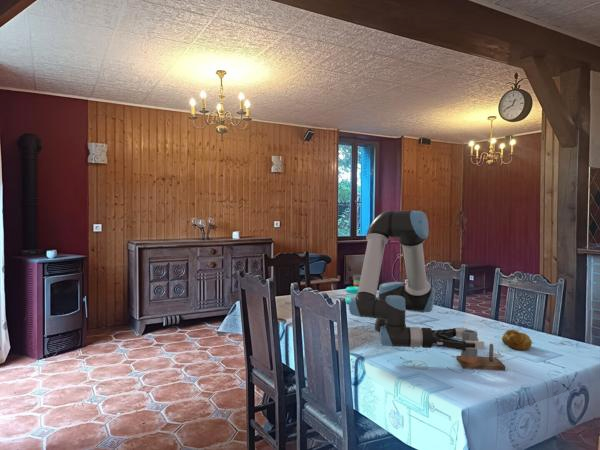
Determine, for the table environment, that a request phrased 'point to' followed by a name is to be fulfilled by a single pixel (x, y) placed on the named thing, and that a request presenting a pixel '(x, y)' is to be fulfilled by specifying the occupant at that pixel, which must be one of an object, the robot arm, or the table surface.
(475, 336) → the sleeve
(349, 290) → the donuts
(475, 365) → the pin board
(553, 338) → the table surface
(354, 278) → the reusable coffee cup
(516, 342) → the bread roll
